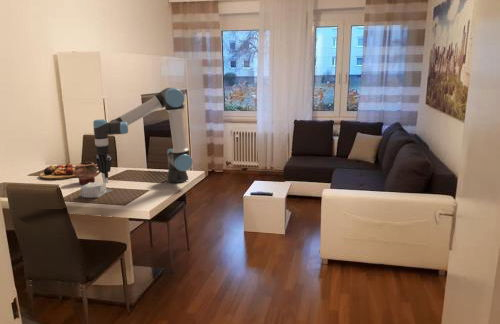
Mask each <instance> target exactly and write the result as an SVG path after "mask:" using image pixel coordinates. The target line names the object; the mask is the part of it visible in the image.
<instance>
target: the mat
mask: <svg viewBox="0 0 500 324" xmlns="http://www.w3.org/2000/svg"><path fill="white" fill-rule="evenodd" d="M106 191H107V192H106V193H105V194H108V193H111V192H114V191H115V190H114V189H108V188H106ZM105 194H104V195H105ZM81 196H82V194H81V195H78V197H81ZM85 198H88V199H94V198H95V197H85Z"/></svg>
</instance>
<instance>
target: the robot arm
mask: <svg viewBox="0 0 500 324" xmlns="http://www.w3.org/2000/svg"><path fill="white" fill-rule="evenodd" d="M184 103H185V95H184V93H183V91H182V90H181V89H179V88H176V87H166V88H164V89H162V90H161V91H160V92H158V93H156V94H155V95H153V97H152V98H151V99H149V100H147V101H145V102H144V103H141V104H140V105H138V106H137V107H135V108H133V109H131V110H129V111H128V112H125V113H123V114H122V115H120V116H119V117H116V118H114V119H112V120H109V121H108V122H107V119H105V118H104V119H103V118H102V119H94V120H93V136H94V145H95V152H96V155H94V159H95V161H96V164H97V166H98V167H97V171H98V172H99V171H100V172H101V173H100V174H101V177H102V183H104V184H105V183H106V184H108V183H109V173H110V172H111V168H112V160H113V157H112V156H110V155H109V154H110V153H109V152H110V146H109V136H111V135H112V136H113V135H127V134H128V133H129V126H130V125H132V124H134V123H136V122H137V121H139V120H141V119H143V118H145V117H146V116H147V115H150V114H151V113H153V112H156V111H157V110H158V109H165V111H166V112H167V113H168V119H169V126H170V132H171V141H172V147H173V148H169V149H167V153H166V154H167V167H168V171H167V175H166V182H167V183H169V182H170V183H169V184H179V183H178V182H182V183H184V182H183V181H186V180H188V181H189V175H188V173H187V171H188V170H191V168H192V166H193V158H192V157H191V153H190V148H189V147H188V146H187V143H186V142H187V141H186V133H185V126H184V118H183V110H184V109H185V108H184V107H185V106H184ZM186 182H187V181H186Z"/></svg>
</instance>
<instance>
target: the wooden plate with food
mask: <svg viewBox="0 0 500 324" xmlns="http://www.w3.org/2000/svg"><path fill="white" fill-rule="evenodd" d="M74 169H75V165H73V164H72V163H67V164H64V165H63V164H58V165H57V166H54V165H52V164H51V165H49V166H47V167H46V168H45V169H43V172H42V173H40V174H39V176H38V178H39V179H41V180H48V181H50V180H51V181H52V180H53V181H55V180H67V179H75V178H78V177H77V176H75V175H74V174H73V171H74Z"/></svg>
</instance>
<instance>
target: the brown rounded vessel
mask: <svg viewBox="0 0 500 324" xmlns="http://www.w3.org/2000/svg"><path fill="white" fill-rule="evenodd" d="M74 168H75V169H74V171H73V174H74V175H75V176H77V177H76V178H78V183H79V184H80V185H86V184H88V183H96V182H95V181H96V180H95V179H96V178H95V177H98V176H99V175H100V174H102V173H101V172H100V171H99V170H98V166H97V163H96V164H95V163H94V162H90V161H89V162H85V161H84V162H81V163H78V164H76V165H74ZM97 171H98V172H97Z"/></svg>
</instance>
